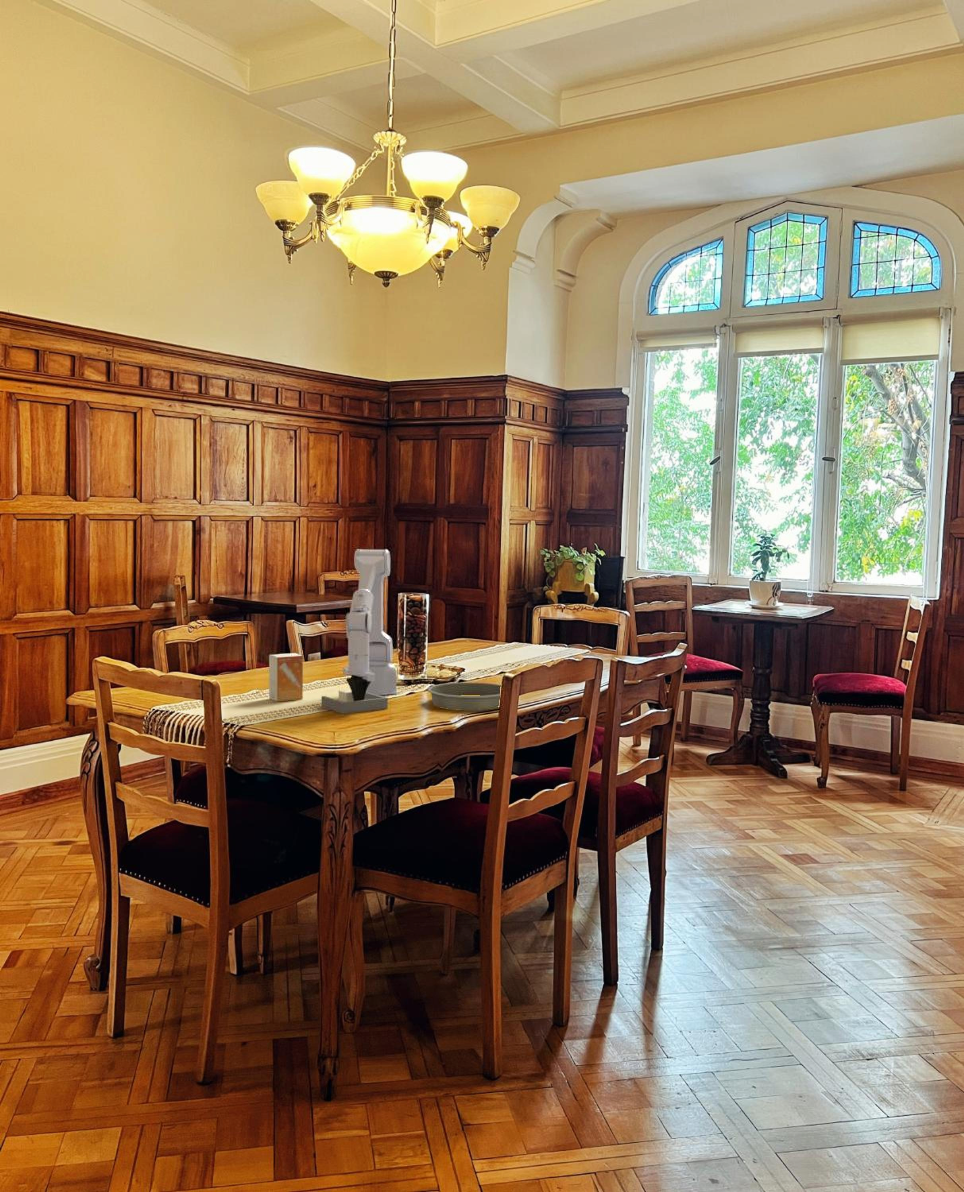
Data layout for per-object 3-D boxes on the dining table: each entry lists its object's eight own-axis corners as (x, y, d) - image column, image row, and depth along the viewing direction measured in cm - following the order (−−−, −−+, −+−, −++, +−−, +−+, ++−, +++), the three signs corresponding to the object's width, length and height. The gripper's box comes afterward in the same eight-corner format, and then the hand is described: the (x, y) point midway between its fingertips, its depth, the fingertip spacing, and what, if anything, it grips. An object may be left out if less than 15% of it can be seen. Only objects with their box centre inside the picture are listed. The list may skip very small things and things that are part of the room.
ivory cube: (352, 704, 287) (352, 688, 287) (360, 707, 283) (360, 691, 283) (338, 706, 284) (338, 690, 284) (346, 708, 281) (346, 692, 280)
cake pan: (530, 704, 290) (530, 689, 289) (467, 716, 273) (467, 699, 272) (472, 693, 307) (472, 678, 307) (409, 703, 291) (410, 687, 290)
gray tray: (365, 701, 291) (365, 691, 291) (387, 708, 281) (387, 697, 280) (321, 706, 283) (321, 696, 282) (343, 714, 272) (342, 703, 272)
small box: (277, 702, 289) (276, 657, 288) (268, 698, 294) (268, 654, 293) (303, 699, 294) (303, 655, 293) (294, 696, 299) (294, 652, 298)
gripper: (333, 652, 282) (333, 700, 283) (358, 659, 270) (359, 709, 271) (355, 650, 286) (355, 698, 287) (381, 657, 274) (381, 706, 276)
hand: (358, 703), depth 280 cm, fingers closed
